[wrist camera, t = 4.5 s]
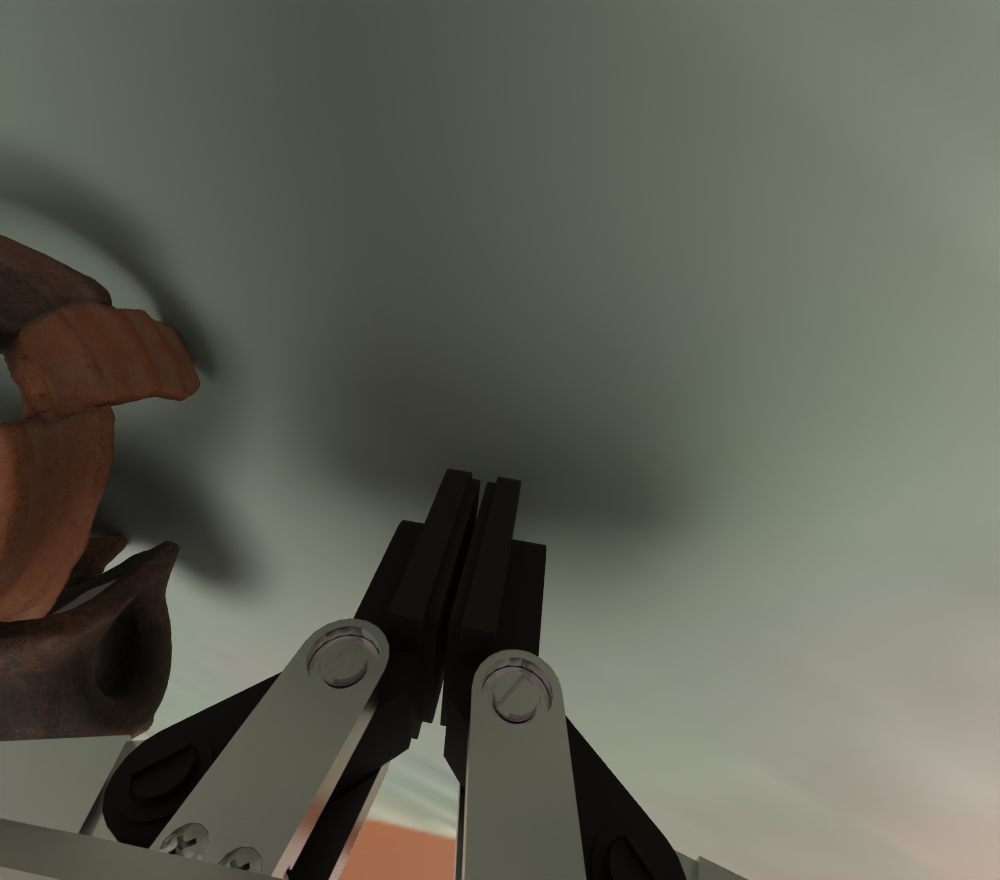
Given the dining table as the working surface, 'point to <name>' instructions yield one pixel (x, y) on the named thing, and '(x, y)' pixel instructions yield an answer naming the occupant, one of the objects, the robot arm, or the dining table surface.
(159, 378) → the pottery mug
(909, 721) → the dining table surface
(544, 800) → the robot arm
